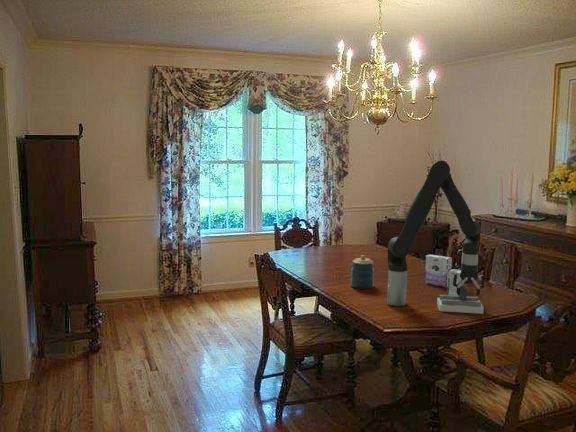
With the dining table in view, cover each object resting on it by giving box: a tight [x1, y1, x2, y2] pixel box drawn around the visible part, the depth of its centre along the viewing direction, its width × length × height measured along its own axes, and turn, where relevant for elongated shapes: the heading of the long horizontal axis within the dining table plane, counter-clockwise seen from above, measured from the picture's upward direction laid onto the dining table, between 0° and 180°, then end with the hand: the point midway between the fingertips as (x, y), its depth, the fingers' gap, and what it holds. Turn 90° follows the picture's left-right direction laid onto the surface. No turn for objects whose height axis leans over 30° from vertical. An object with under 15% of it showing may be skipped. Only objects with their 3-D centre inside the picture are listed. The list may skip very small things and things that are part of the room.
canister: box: [350, 254, 375, 290], centre depth 292 cm, size 13×13×18 cm
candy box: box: [423, 253, 453, 288], centre depth 297 cm, size 14×6×16 cm, turn 47°
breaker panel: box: [436, 294, 485, 315], centre depth 255 cm, size 20×12×5 cm, turn 80°
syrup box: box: [446, 268, 461, 296], centre depth 272 cm, size 6×6×14 cm
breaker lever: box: [458, 284, 468, 301], centre depth 254 cm, size 3×5×8 cm, turn 170°
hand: (467, 295), depth 254 cm, fingers open, 8 cm apart
